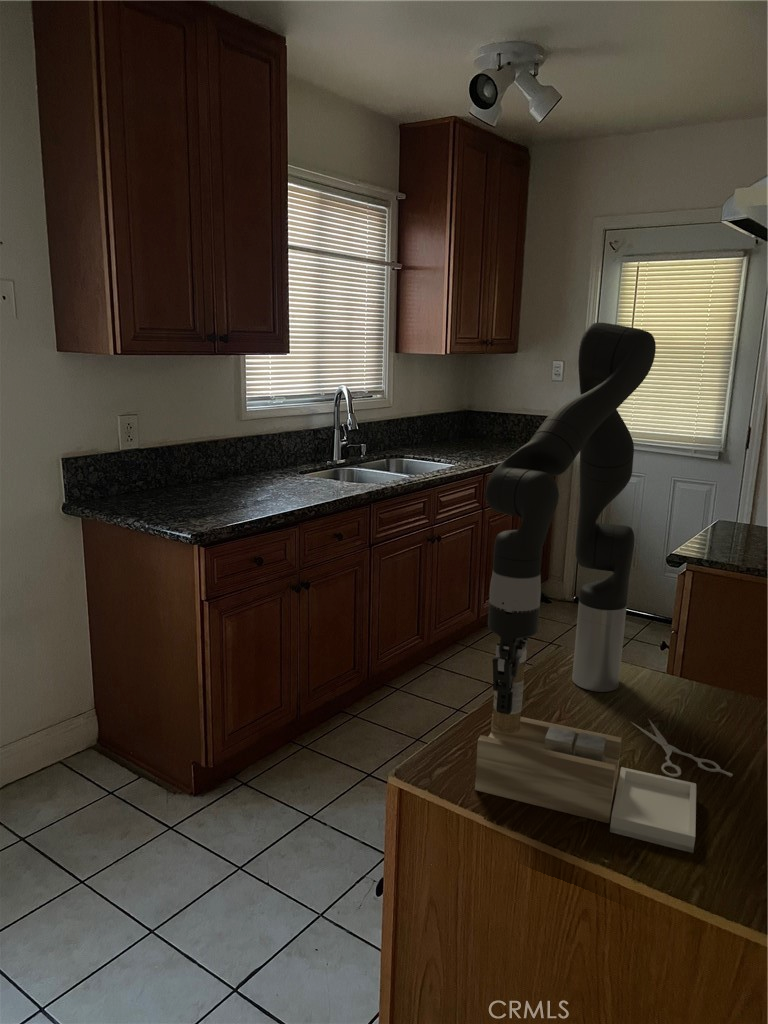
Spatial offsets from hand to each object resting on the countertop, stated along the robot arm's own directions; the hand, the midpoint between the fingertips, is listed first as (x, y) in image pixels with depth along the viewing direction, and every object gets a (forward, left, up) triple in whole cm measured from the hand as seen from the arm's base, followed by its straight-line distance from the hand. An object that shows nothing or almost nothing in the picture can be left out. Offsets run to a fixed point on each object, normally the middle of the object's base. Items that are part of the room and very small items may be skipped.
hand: (507, 705), depth 117 cm
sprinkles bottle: (0, 0, -4) cm, 4 cm away
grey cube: (0, +8, -7) cm, 11 cm away
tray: (0, +23, -13) cm, 26 cm away
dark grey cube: (0, +13, -7) cm, 15 cm away
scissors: (-22, +24, -13) cm, 35 cm away
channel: (0, +7, -13) cm, 14 cm away
